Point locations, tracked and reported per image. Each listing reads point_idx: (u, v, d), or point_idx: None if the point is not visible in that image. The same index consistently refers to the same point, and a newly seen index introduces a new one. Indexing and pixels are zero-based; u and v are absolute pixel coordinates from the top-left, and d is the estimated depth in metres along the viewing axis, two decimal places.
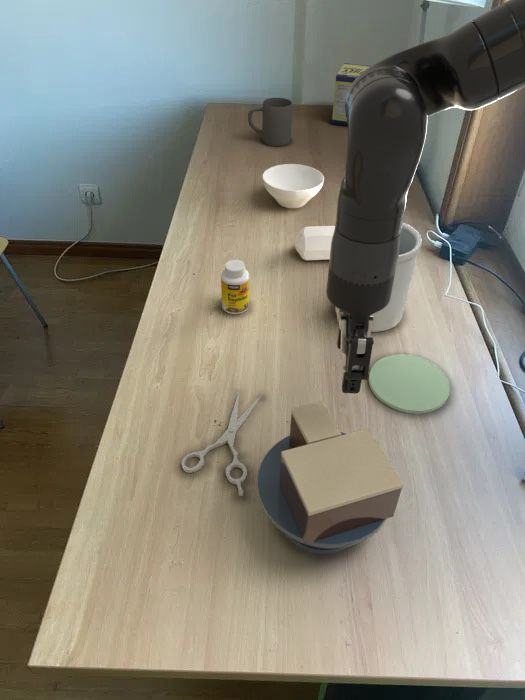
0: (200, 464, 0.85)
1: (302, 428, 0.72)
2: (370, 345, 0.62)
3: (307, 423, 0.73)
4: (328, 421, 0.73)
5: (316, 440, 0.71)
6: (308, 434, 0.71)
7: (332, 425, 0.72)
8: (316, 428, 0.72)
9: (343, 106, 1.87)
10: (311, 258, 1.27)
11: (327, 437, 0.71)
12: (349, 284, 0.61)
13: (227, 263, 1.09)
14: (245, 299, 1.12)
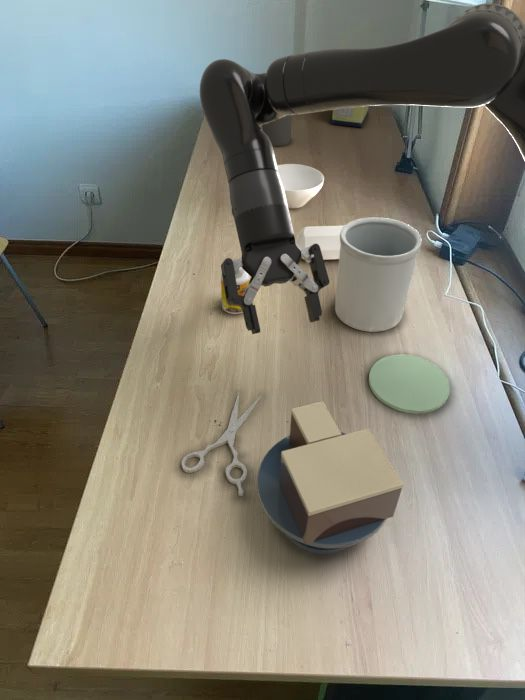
0: (200, 464, 0.85)
1: (302, 428, 0.72)
2: (223, 263, 0.74)
3: (307, 423, 0.73)
4: (328, 421, 0.73)
5: (316, 440, 0.71)
6: (308, 434, 0.71)
7: (332, 425, 0.72)
8: (316, 428, 0.72)
9: None
10: None
11: (327, 437, 0.71)
12: None
13: None
14: None
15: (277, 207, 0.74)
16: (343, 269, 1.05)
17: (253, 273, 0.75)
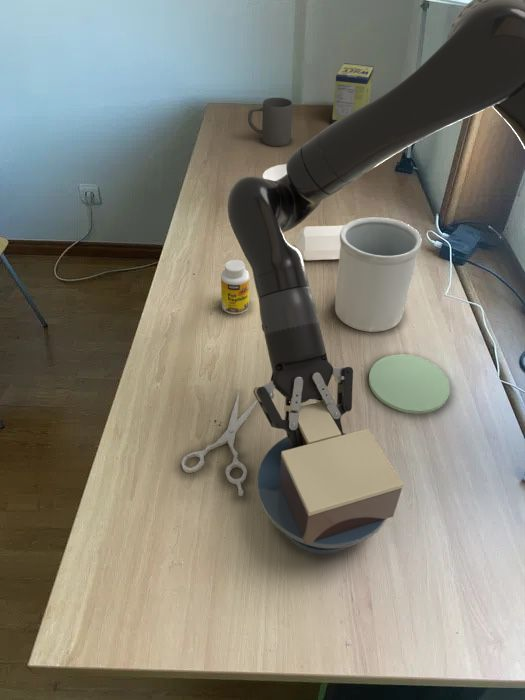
0: (200, 464, 0.85)
1: (302, 428, 0.72)
2: (257, 393, 0.72)
3: (307, 423, 0.73)
4: (328, 421, 0.73)
5: (316, 440, 0.71)
6: (308, 434, 0.71)
7: (332, 425, 0.72)
8: (316, 428, 0.72)
9: (343, 106, 1.87)
10: (311, 258, 1.27)
11: (327, 437, 0.71)
12: None
13: (227, 263, 1.09)
14: (245, 299, 1.12)
15: (309, 327, 0.72)
16: (343, 269, 1.05)
17: (284, 392, 0.73)
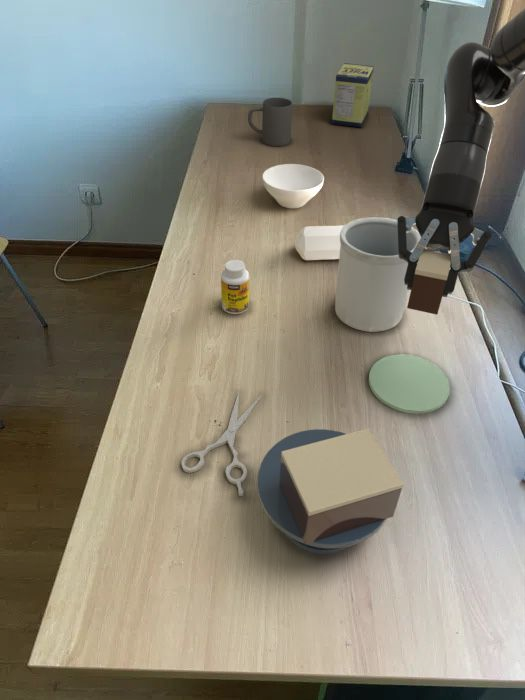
0: (200, 464, 0.85)
1: (419, 261, 0.82)
2: (397, 220, 0.84)
3: (425, 260, 0.82)
4: (444, 265, 0.81)
5: (422, 270, 0.80)
6: (420, 265, 0.81)
7: (445, 269, 0.80)
8: (430, 265, 0.81)
9: (343, 106, 1.87)
10: (311, 258, 1.27)
11: (434, 273, 0.80)
12: None
13: (227, 263, 1.09)
14: (245, 299, 1.12)
15: (464, 178, 0.80)
16: (343, 269, 1.05)
17: (420, 230, 0.83)
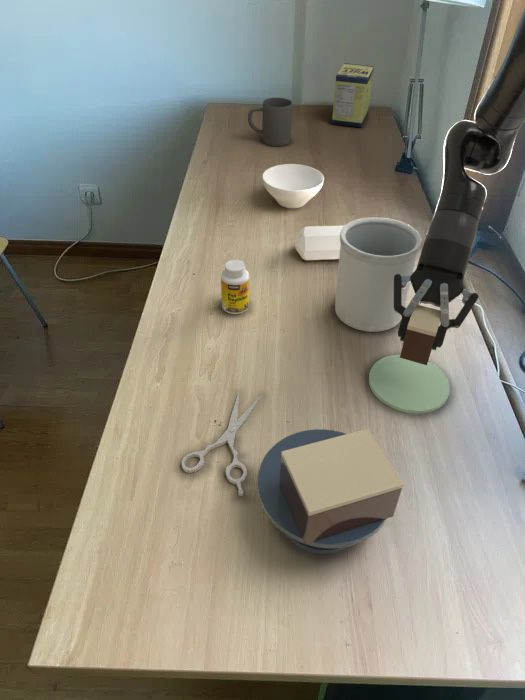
0: (200, 464, 0.85)
1: (411, 316, 0.90)
2: (394, 278, 0.92)
3: (418, 316, 0.90)
4: (434, 322, 0.89)
5: (414, 326, 0.88)
6: (412, 321, 0.89)
7: (435, 325, 0.88)
8: (421, 321, 0.89)
9: (343, 106, 1.87)
10: (311, 258, 1.27)
11: (424, 329, 0.88)
12: None
13: (227, 263, 1.09)
14: (245, 299, 1.12)
15: (456, 244, 0.87)
16: (343, 269, 1.05)
17: (414, 287, 0.91)
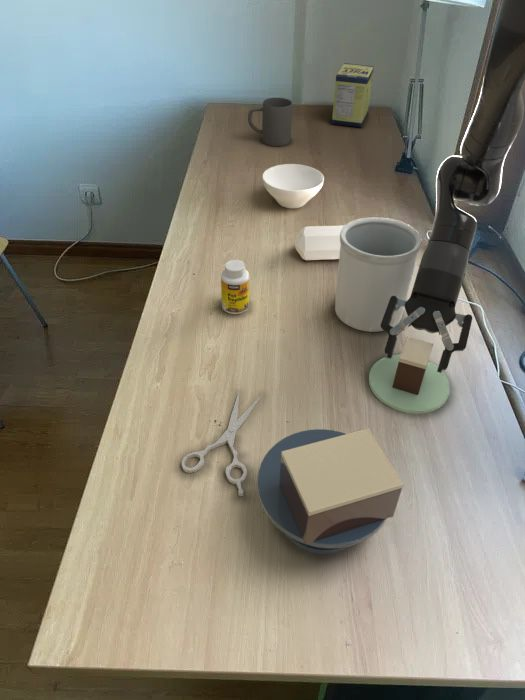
0: (200, 464, 0.85)
1: (403, 349, 0.95)
2: (390, 298, 0.96)
3: (409, 349, 0.95)
4: (425, 355, 0.94)
5: (405, 359, 0.93)
6: (403, 354, 0.94)
7: (425, 358, 0.93)
8: (412, 354, 0.94)
9: (343, 106, 1.87)
10: (311, 258, 1.27)
11: (415, 362, 0.92)
12: None
13: (227, 263, 1.09)
14: (245, 299, 1.12)
15: (447, 274, 0.92)
16: (343, 269, 1.05)
17: (408, 314, 0.95)
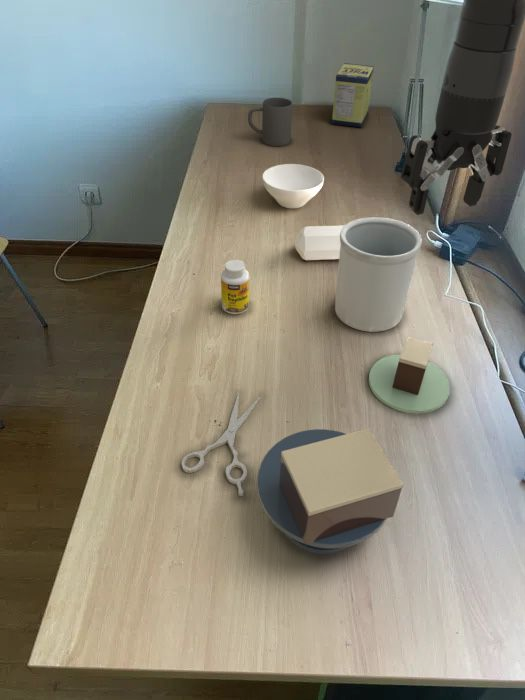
0: (200, 464, 0.85)
1: (403, 349, 0.95)
2: (418, 146, 0.70)
3: (409, 349, 0.95)
4: (425, 355, 0.94)
5: (405, 359, 0.93)
6: (403, 354, 0.94)
7: (425, 358, 0.93)
8: (412, 354, 0.94)
9: (343, 106, 1.87)
10: (311, 258, 1.27)
11: (415, 362, 0.92)
12: (441, 88, 0.69)
13: (227, 263, 1.09)
14: (245, 299, 1.12)
15: (499, 100, 0.66)
16: (343, 269, 1.05)
17: (439, 158, 0.72)
